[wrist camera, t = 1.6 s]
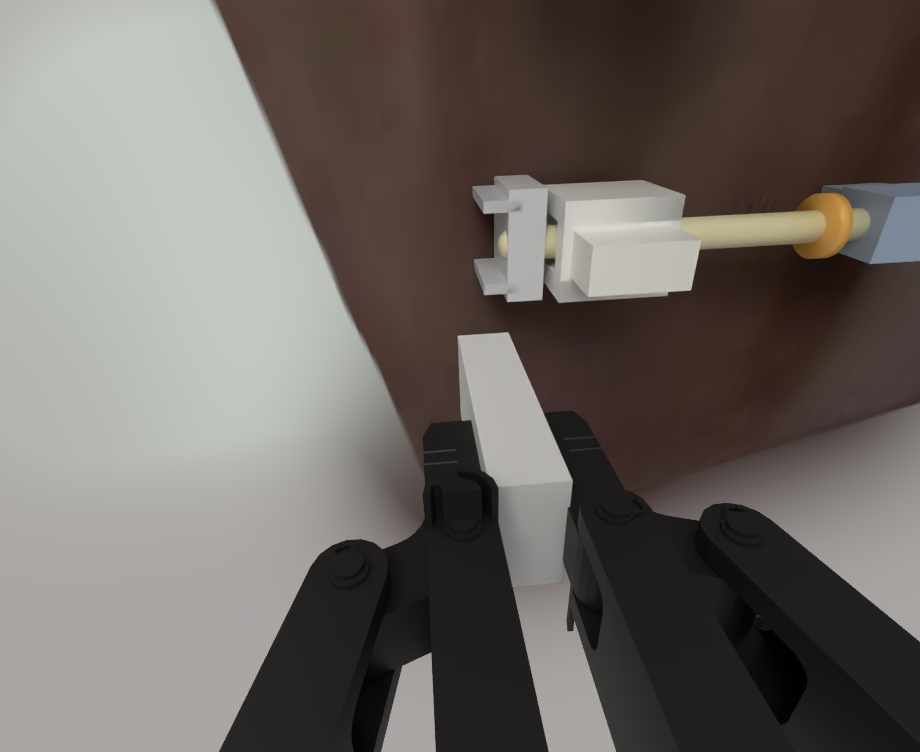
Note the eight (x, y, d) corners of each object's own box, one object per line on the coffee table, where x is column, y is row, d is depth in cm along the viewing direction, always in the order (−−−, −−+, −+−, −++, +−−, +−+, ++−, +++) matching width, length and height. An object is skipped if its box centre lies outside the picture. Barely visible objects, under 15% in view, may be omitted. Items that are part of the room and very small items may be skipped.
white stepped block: (540, 185, 28) (585, 214, 21) (642, 179, 29) (719, 206, 22) (536, 272, 31) (575, 325, 24) (630, 267, 31) (695, 317, 24)
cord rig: (472, 177, 29) (485, 193, 24) (899, 156, 31) (994, 168, 26) (474, 275, 32) (486, 308, 27) (863, 252, 34) (942, 279, 29)
